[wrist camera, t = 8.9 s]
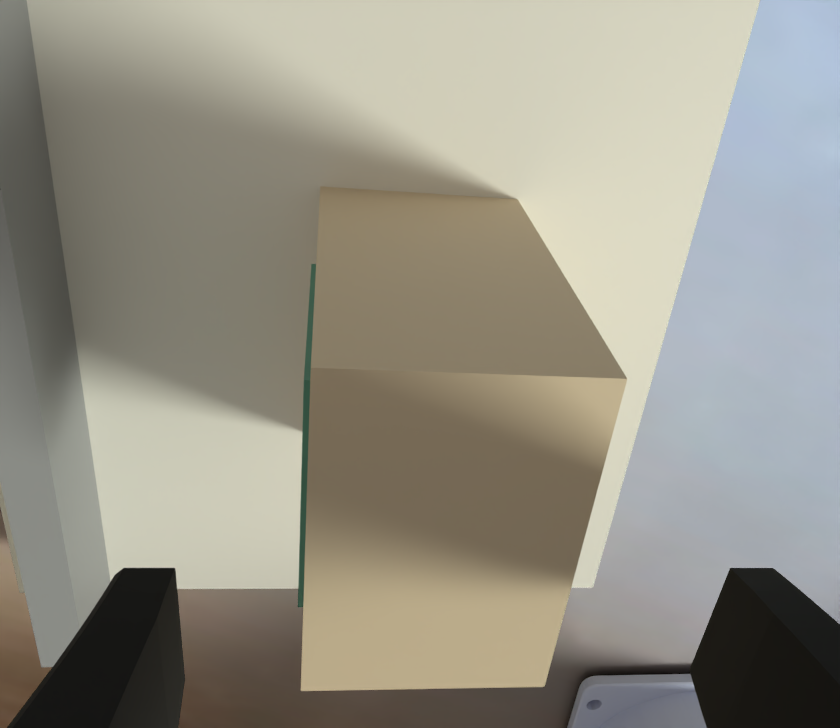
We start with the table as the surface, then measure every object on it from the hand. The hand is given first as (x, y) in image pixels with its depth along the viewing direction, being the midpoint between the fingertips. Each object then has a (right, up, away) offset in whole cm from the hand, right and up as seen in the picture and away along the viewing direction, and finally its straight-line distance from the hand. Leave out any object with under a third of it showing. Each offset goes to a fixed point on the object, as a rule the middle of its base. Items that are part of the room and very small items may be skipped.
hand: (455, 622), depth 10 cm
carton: (-1, +4, +7) cm, 8 cm away
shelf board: (-2, +5, +8) cm, 9 cm away
